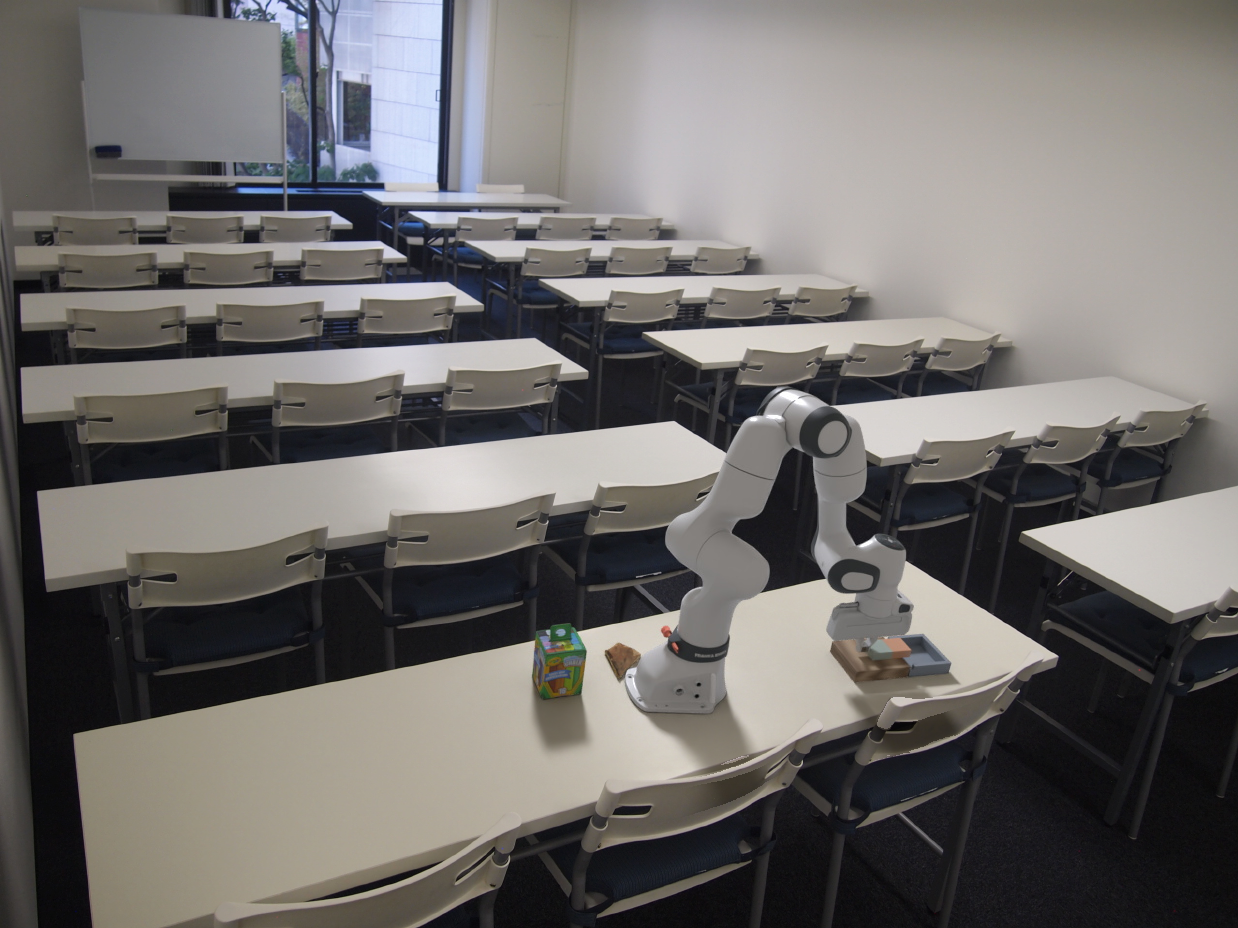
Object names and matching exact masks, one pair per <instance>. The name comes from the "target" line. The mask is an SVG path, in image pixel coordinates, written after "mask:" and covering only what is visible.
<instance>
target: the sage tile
mask: <svg viewBox="0 0 1238 928" xmlns="http://www.w3.org/2000/svg"><path fill="white" fill-rule="evenodd" d="M863 642H865V641H863ZM866 653H867V655H868V656H869V657H870V658H871V659H872V660H883V659H891V658H892V654H893V651H892V650H891V649H890V648H889V647H888V646H887V644H886V643H885V642H884V641H883V640H882V639H880V640H877V641H876V642H875V643H874V644H873V645H872V646H871V649H870V652H866Z"/></svg>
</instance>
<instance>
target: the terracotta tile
mask: <svg viewBox="0 0 1238 928" xmlns="http://www.w3.org/2000/svg"><path fill="white" fill-rule="evenodd" d="M882 640H883V641H884V642H885V643H886V644H887V646H888V647H889V648H890V649H891V650H892V651H893V654H892V658H891V659H894V658H905V657H910V654H911V649H910V648H909V647H908V646H907V645H906V644H905V642H904V641H903V640H902V639H901V638H891V639H888V638H885V639H882Z"/></svg>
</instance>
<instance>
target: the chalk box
mask: <svg viewBox="0 0 1238 928" xmlns="http://www.w3.org/2000/svg"><path fill="white" fill-rule="evenodd" d="M534 639H535V640H534V649H533V662H532V675H531V676H532V677H533V680H534V683H535V686H536V687H537V691H538V692H539V695H540V697H541V699H542V700H546V699H553V698H559V697H567V696H573V695H574V696H575V695H581V694H582V691H583V684H584V677H585V668H586V661H587V653H588V650H587V648H586V646H585V644H584V643H583V641H582V638H581V636H580V635H579V632H577V629H576V628H575V627H573V626H572V624H571V623H569V622H568V623H559V624H552V625H551V626H550V629H542V630H536V631H535V637H534Z"/></svg>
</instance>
